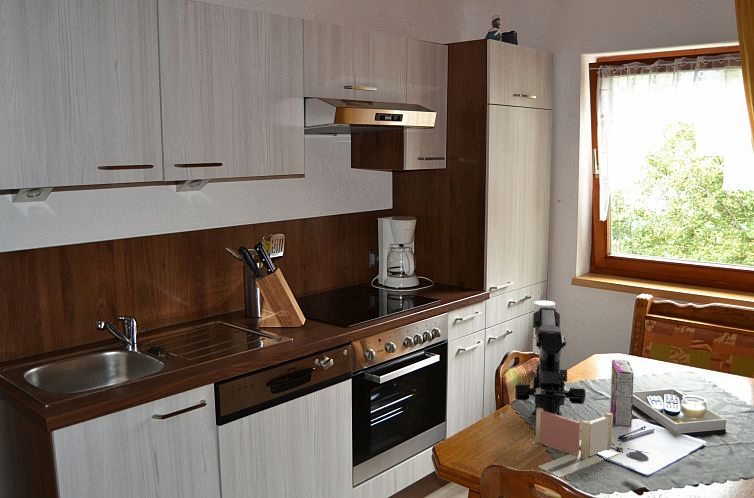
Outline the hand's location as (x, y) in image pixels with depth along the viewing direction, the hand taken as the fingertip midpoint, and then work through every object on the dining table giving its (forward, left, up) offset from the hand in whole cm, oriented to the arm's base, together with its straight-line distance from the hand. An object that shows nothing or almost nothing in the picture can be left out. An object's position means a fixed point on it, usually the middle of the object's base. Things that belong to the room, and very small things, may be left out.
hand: (549, 423), depth 191 cm
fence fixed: (+12, +5, -6) cm, 14 cm away
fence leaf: (+3, -1, -6) cm, 7 cm away
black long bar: (-38, +46, -6) cm, 60 cm away
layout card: (+11, -2, -6) cm, 13 cm away
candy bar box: (+3, +30, -6) cm, 31 cm away
